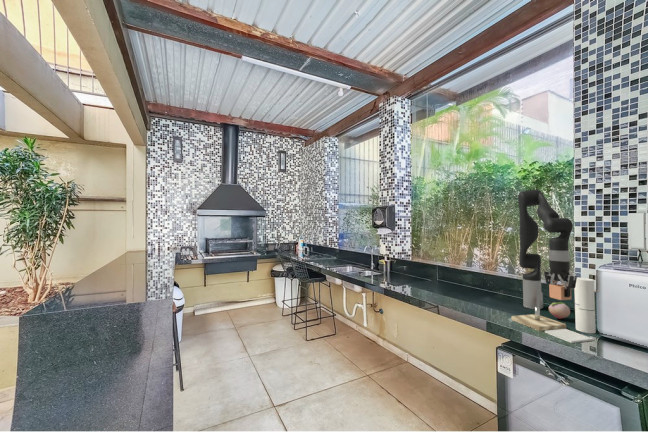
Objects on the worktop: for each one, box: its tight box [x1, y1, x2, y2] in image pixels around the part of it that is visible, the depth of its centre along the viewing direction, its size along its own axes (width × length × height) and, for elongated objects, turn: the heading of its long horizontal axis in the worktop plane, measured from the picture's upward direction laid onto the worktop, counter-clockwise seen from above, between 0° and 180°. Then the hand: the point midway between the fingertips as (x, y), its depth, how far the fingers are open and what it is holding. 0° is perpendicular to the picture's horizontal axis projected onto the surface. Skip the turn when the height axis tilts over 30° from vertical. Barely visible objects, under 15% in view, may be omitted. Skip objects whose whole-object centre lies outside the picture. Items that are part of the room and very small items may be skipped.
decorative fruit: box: [548, 301, 571, 320], centre depth 152 cm, size 9×8×10 cm
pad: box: [544, 328, 594, 344], centre depth 130 cm, size 12×12×1 cm
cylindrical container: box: [573, 277, 597, 334], centre depth 137 cm, size 7×7×25 cm
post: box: [534, 307, 541, 321], centre depth 146 cm, size 2×2×6 cm
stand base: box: [511, 313, 567, 332], centre depth 145 cm, size 16×16×2 cm
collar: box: [548, 283, 572, 301], centre depth 132 cm, size 6×6×6 cm
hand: (560, 295), depth 132 cm, fingers closed on collar, 5 cm apart
